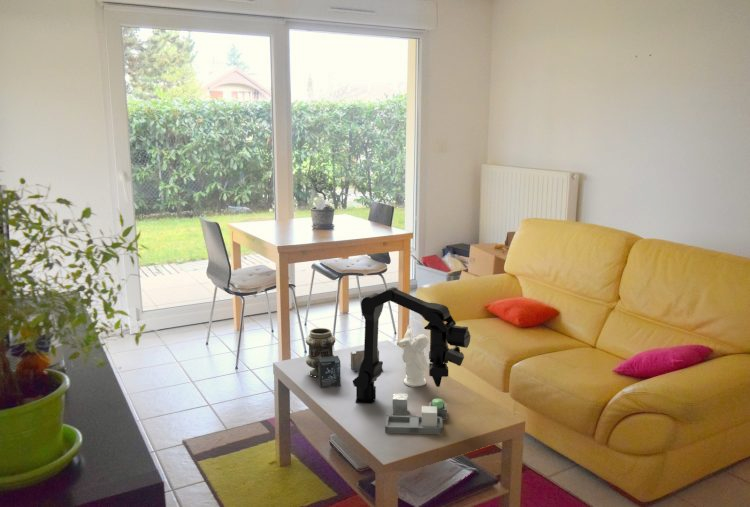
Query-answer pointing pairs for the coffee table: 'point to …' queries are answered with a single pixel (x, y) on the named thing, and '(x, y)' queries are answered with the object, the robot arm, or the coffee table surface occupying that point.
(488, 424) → the coffee table surface
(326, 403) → the coffee table surface
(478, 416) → the coffee table surface
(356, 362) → the architectural model on board
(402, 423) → the pallet
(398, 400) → the block
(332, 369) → the box
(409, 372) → the cherub figurine
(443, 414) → the switch box
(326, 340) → the ornate grey-brown vase
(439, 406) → the button
